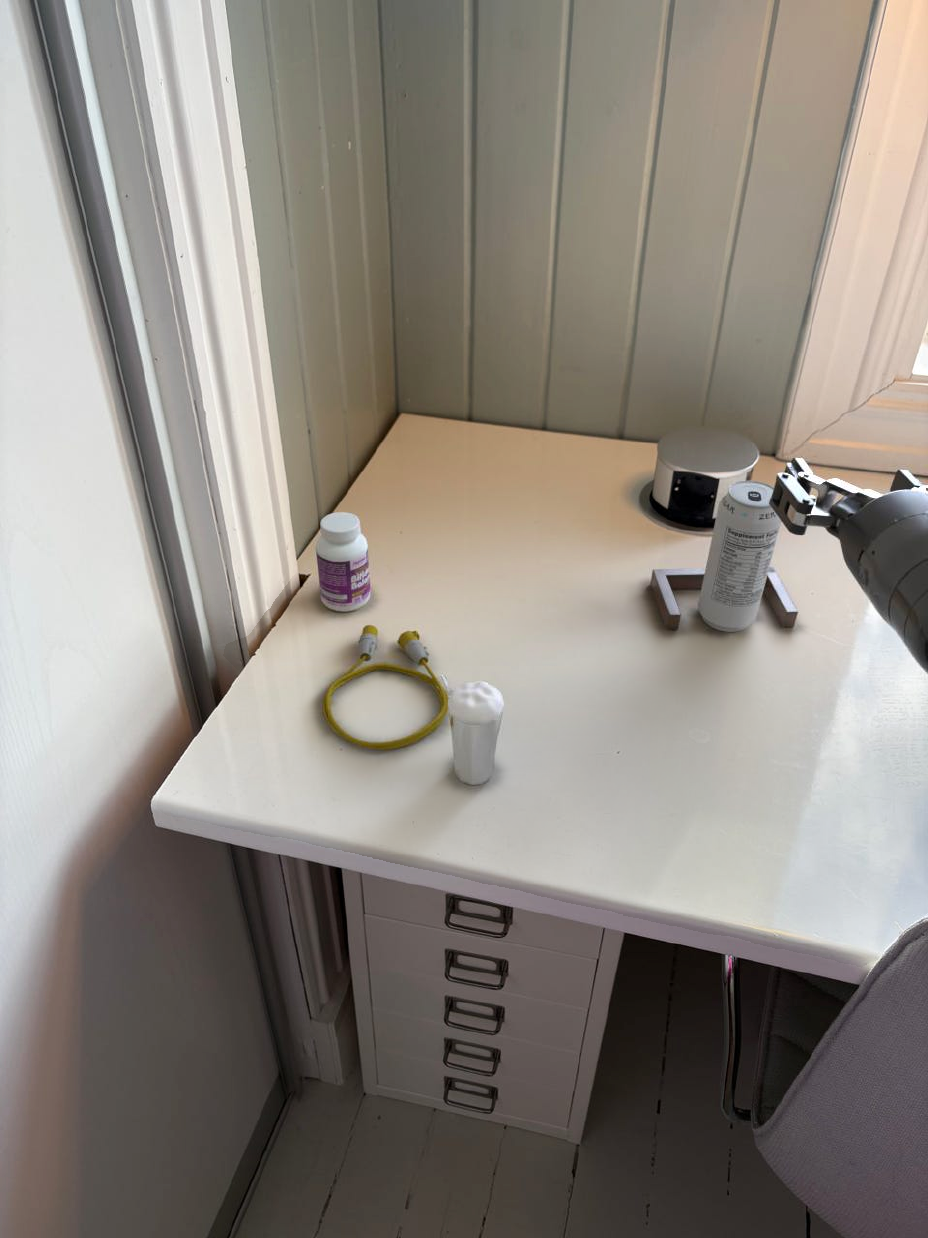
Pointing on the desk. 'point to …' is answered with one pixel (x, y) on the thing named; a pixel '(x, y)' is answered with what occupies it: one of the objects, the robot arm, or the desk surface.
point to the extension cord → (413, 650)
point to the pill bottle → (343, 563)
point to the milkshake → (474, 729)
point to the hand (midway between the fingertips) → (845, 474)
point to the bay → (693, 579)
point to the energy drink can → (739, 556)
